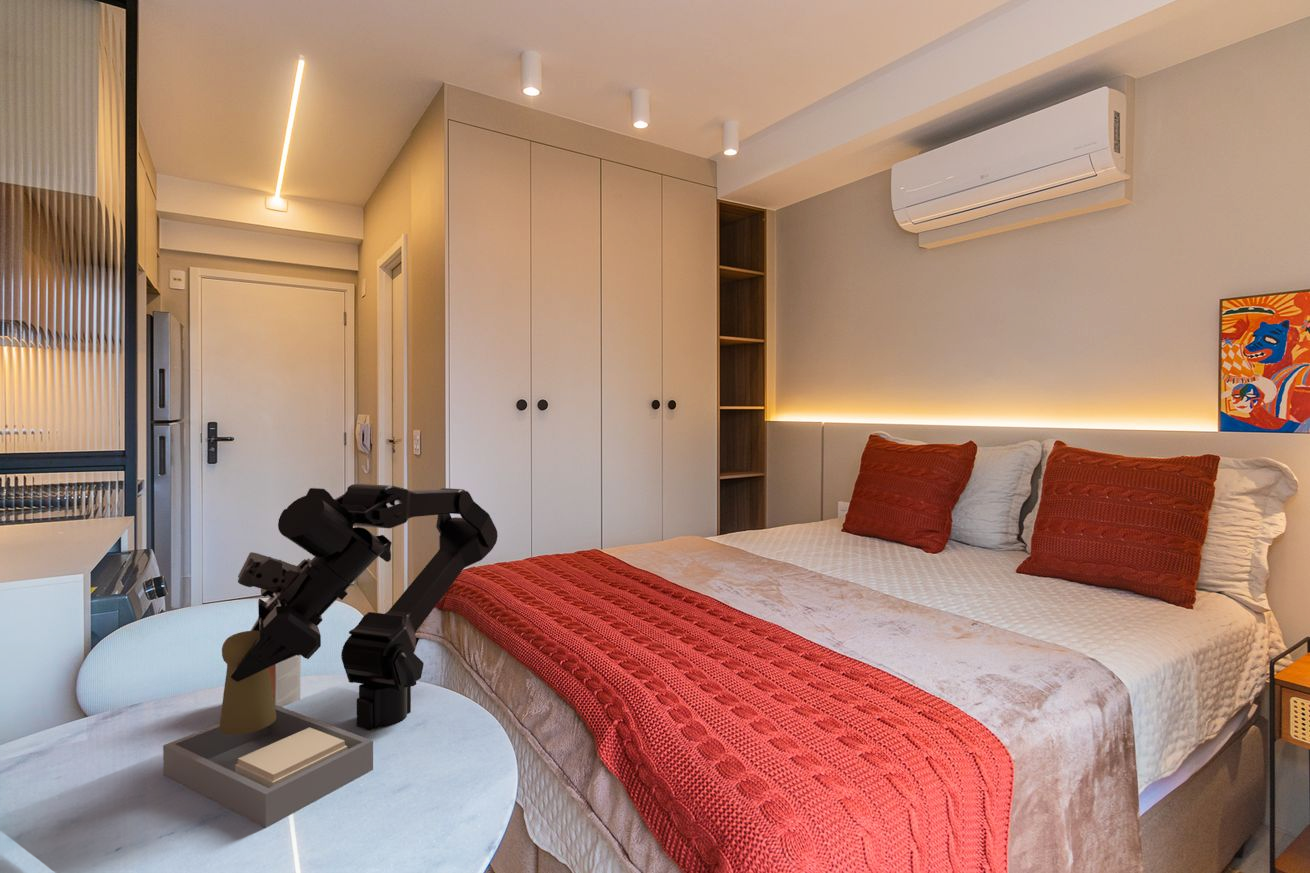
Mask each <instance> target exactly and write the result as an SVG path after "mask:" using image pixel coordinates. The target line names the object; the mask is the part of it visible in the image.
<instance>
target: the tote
mask: <svg viewBox="0 0 1310 873" xmlns="http://www.w3.org/2000/svg"><path fill="white" fill-rule="evenodd" d="M275 710H276V716H277V718H276V720H275V721H274V722H273V723H272V724H271V725H269V726H267V727H265V728H263V729H261V730H258V731H255V732H251V733H246V734H238V735H231V734H225V733H222V732H221V731H220V730H219V725H220V723H217V724H214V725H213V726H209V727H207V728H204V729H203V730H199V731H197V732H194V733H192V734H189V735H186V736H183V737H181V738H179V739H175V740H173V741H171V742H168V743H166V744H163V745H162V747H163V748H162V754H163V755H162V756H163V758H162V760H163V776H165V777H167V778H168V779H171V780H172V781H175V782H176V783H178V784H180V785H182V786H184V787H186V788H187V789H190V790H191V791H193V792H196V793H197V794H199V795H202V796H203V797H205V798H207V799H209V800H211V801H213V802H214V803H216V804H219V805H220V806H222V807H225V808H226V809H229V810H230V811H232V812H234V813H236V814H238V815H240V816H241V817H243V818H246V819H247V820H249V821H252V822H253V823H255V824H257V825H259V826H261V827H263V828H265V829H267V828H269V827H270V826H273V825H274V824H276V823H278V822H280V821H281V820H284V819H285V818H287V817H289V816H290V815H293V814H294V813H296V812H298V811H300V810H302V809H304V808H307V806H309V805H311V804H313V803H314V802H316V801H318V800H320V799H323V798H324V797H327V795H329V794H331V793H333V792H335V791H337V790H339V789H340V788H343V787H344V786H346V785H349V783H351V782H355V781H356V780H357V779H359V778H361V777H363V776H364V775H366V774H368V773H370V772H371V771H373V770H374V740H372V739H370V738H366V737H365V736H361V735H359V734H356V733H354V732H350V731H347V730H345V729H342V728H340V727H337V726H333V725H331V724H330V723H329V724H328V723H326V722H323V721H320V720H319V719H318V720H317V719H315V718H313V717H310V716H307V715H304V714H302V713H298V712H296V711H293V710H290V709H289V708H288V709H287V708H285V707H284V706H283V707H280V706H277V705H275ZM309 727H310V728H313V729H315V730H318V731H321V732H323V733H326V734H329V735H331V736H334V737H336V738H339V739H342V740H344V741H345V745H346V746H347V750H345V751H343V752H341V753H339V754H337V755H335V756H333V757H331V758H329V759H327V760H325V761H323V762H321V763H319V764H317V765H315V766H313V767H311V768H309V769H307V770H305V771H303V772H301V773H299V774H297V775H295V776H293V777H291V778H289V779H287V780H285V781H283V782H280V783H278V784H276V785H274V786H272V787H270V788H267V787H265V786H263V785H261V784H259V783H256V782H254V781H252V780H250V779H248V778H246V777H244V776H242V775H239V774H237V773H235V765H236V764H238V758H240V757H243V756H245V755H247V754H249V753H252V752H254V751H256V750H259V749H261V748H263V747H266V746H268V745H270V744H272V743H275V742H277V741H279V740H282V739H284V738H286V737H289V736H291V735H293V734H295V733H298V732H300V731H302V730H305V729H307V728H309Z"/></svg>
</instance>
